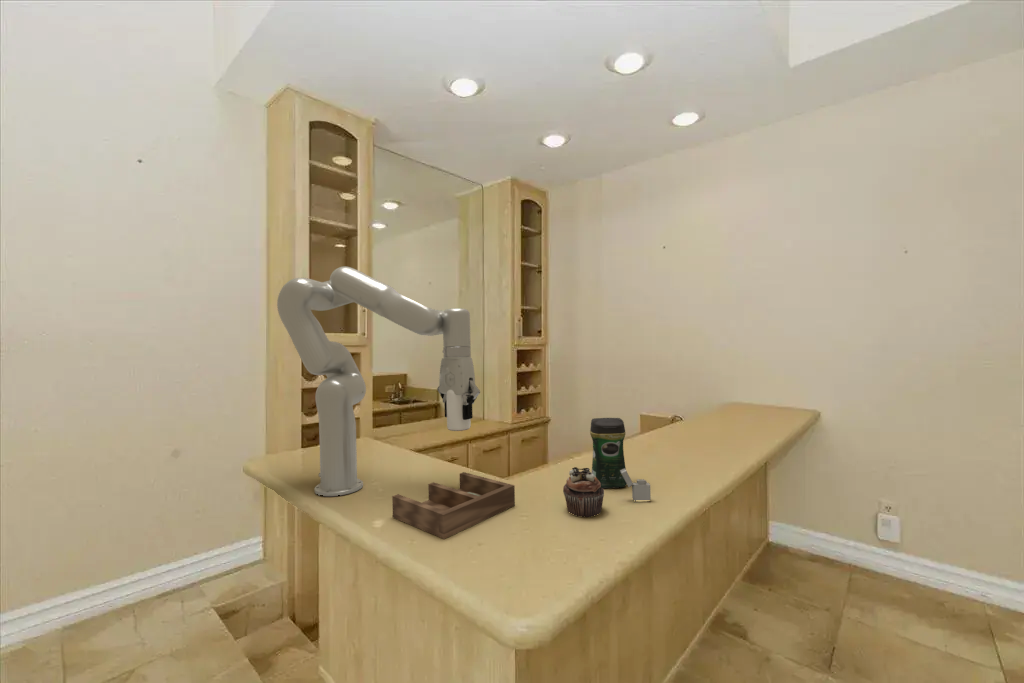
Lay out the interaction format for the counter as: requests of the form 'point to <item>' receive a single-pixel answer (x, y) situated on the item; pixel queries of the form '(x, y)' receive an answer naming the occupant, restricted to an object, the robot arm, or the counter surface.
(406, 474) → the counter surface
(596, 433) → the coffee jar
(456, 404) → the can
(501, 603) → the counter surface
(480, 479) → the tray
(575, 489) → the cupcake
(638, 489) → the lighter
